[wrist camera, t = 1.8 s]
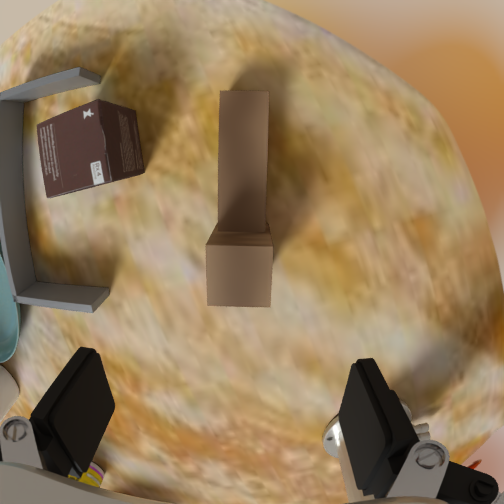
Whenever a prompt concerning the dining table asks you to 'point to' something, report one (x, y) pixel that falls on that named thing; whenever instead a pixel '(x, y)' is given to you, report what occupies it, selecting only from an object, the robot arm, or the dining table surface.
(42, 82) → the open-sided frame
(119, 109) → the box
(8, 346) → the teal plate
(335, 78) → the dining table surface
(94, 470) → the supplement bottle
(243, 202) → the brown l-shaped block
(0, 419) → the pill bottle
